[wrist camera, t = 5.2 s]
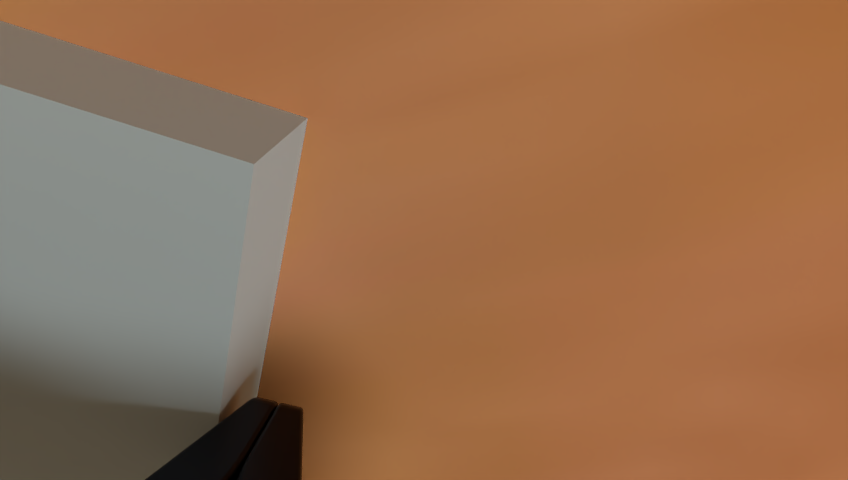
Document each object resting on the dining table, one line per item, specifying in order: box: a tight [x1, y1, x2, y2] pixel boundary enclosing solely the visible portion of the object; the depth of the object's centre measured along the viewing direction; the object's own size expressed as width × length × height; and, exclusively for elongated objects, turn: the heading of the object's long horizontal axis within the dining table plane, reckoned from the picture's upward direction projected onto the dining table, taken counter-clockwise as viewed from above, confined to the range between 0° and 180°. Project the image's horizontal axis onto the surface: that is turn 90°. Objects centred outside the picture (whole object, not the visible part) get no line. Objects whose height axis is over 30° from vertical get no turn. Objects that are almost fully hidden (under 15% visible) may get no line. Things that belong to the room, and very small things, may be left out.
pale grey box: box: [0, 21, 308, 480], centre depth 9 cm, size 8×6×2 cm
